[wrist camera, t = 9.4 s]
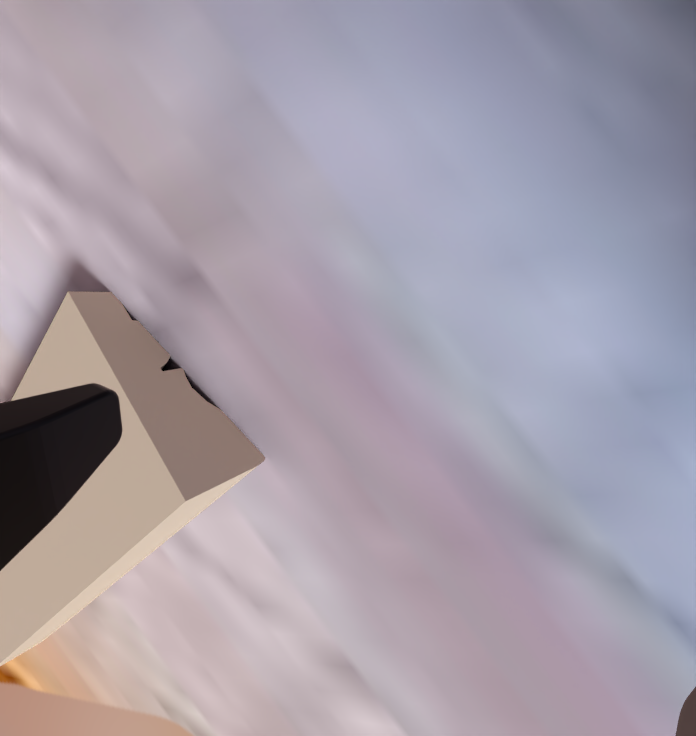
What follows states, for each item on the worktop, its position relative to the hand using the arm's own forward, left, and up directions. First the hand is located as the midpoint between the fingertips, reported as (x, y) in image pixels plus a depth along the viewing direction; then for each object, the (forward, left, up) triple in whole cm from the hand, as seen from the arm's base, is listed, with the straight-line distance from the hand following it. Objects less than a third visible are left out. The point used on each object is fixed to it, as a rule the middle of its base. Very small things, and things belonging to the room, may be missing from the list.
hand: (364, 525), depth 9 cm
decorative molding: (+23, +24, -13) cm, 35 cm away
